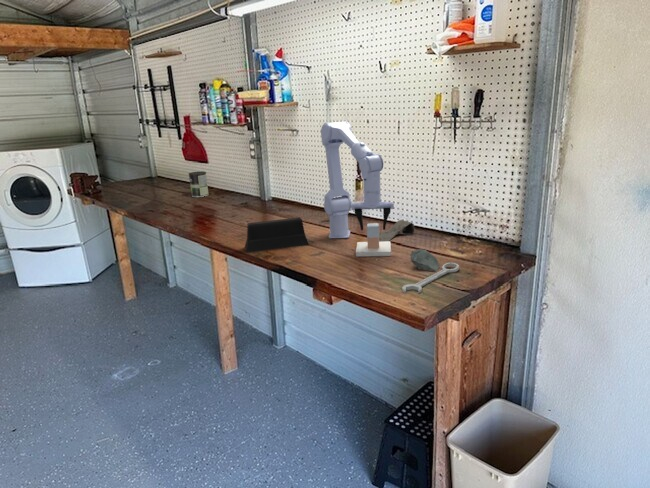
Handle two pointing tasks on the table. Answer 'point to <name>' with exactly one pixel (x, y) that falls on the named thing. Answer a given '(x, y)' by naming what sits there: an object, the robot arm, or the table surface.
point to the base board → (364, 251)
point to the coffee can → (198, 184)
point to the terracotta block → (373, 243)
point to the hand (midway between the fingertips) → (373, 229)
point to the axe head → (397, 230)
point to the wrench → (431, 278)
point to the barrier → (275, 235)
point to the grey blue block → (373, 230)
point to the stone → (424, 260)
